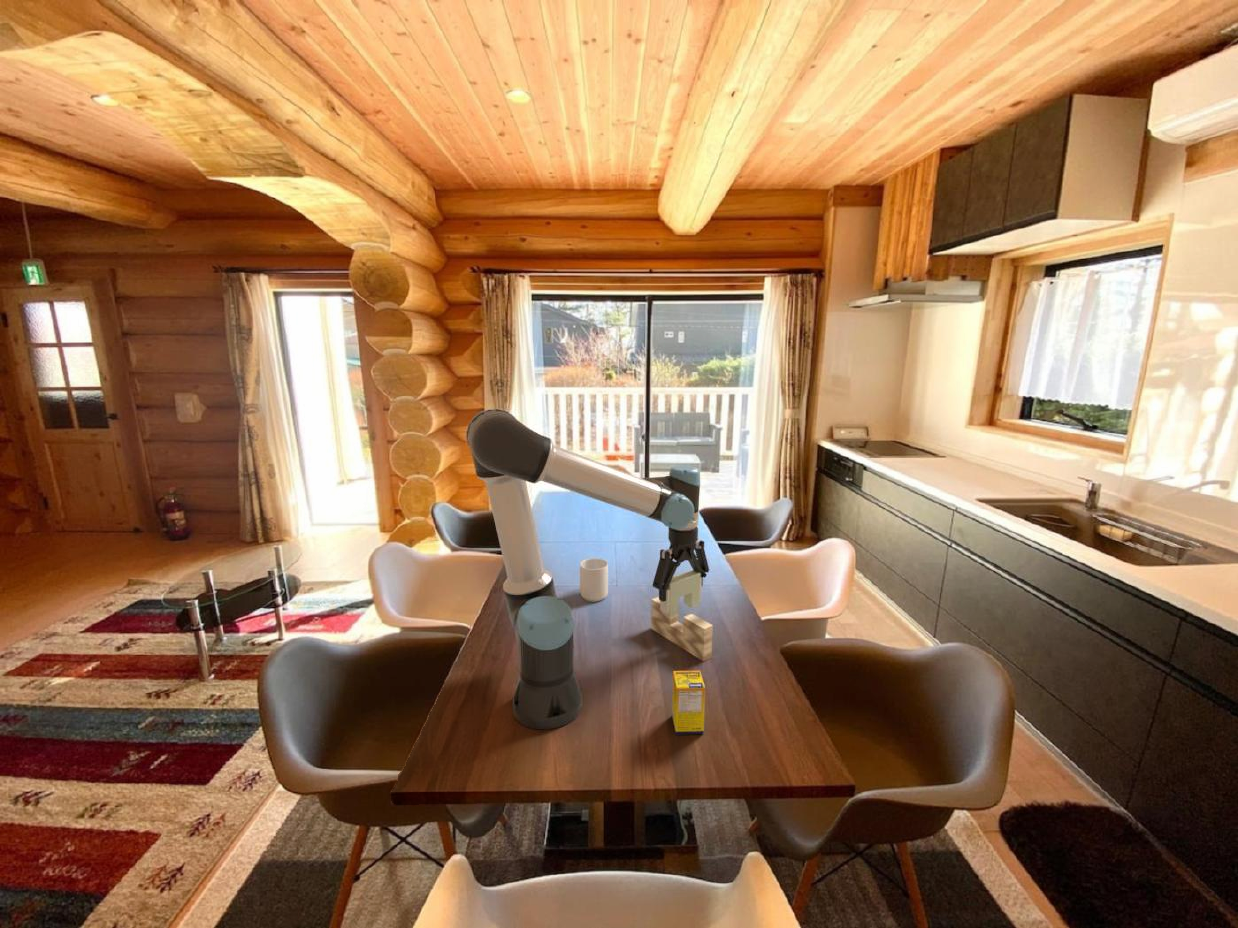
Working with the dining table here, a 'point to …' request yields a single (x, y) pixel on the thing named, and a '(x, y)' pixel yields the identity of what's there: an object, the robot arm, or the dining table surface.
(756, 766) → the dining table surface
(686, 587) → the sage plate
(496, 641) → the dining table surface
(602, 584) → the mug
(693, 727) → the supplement box
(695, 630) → the birch board
